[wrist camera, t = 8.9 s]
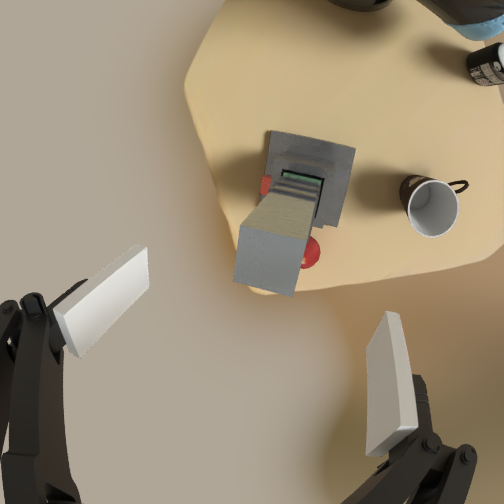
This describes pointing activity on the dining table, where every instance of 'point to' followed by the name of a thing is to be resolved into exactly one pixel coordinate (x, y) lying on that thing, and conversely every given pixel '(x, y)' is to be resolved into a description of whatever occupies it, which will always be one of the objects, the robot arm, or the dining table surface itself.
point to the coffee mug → (430, 204)
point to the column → (277, 234)
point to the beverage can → (487, 65)
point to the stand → (311, 170)
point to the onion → (310, 254)
